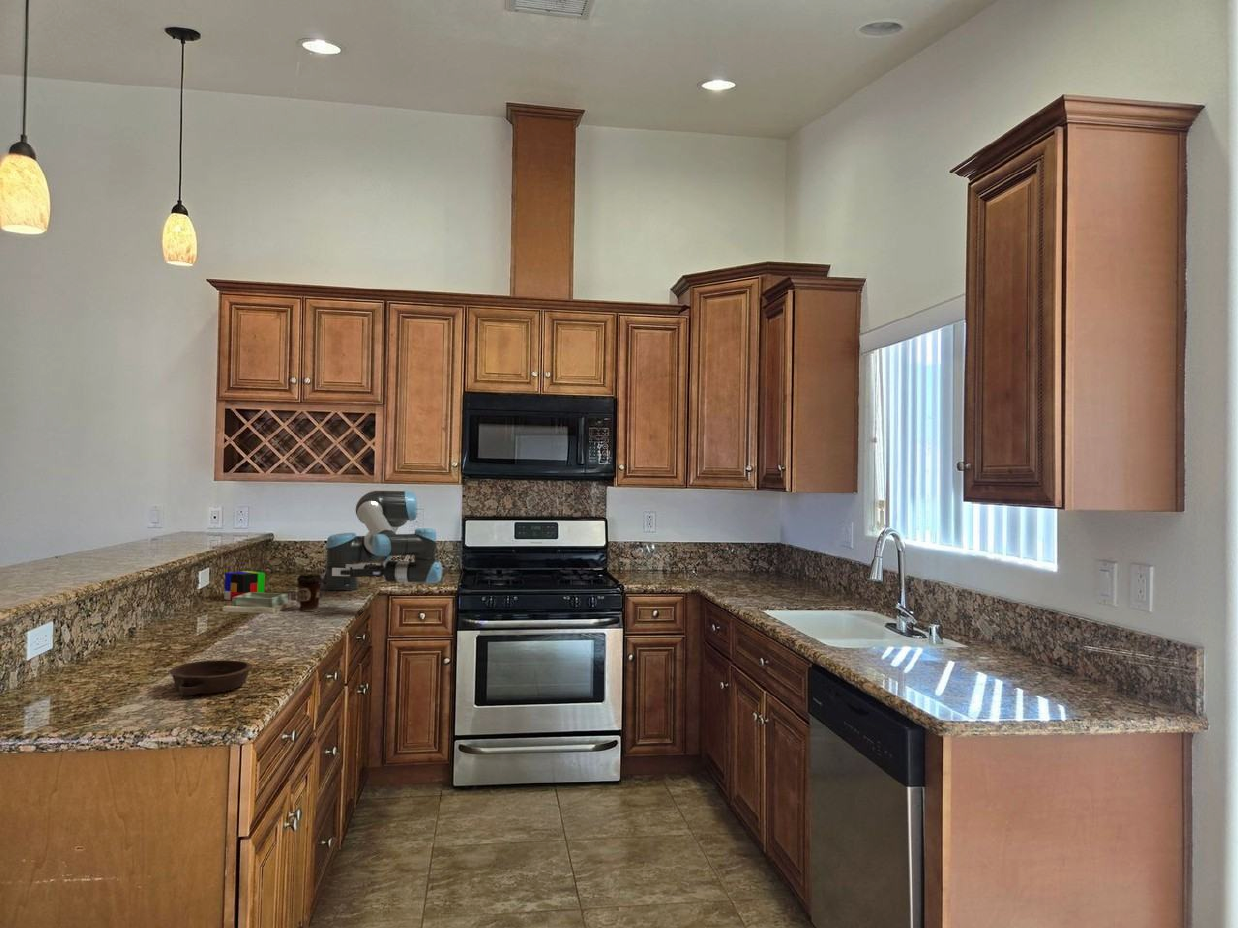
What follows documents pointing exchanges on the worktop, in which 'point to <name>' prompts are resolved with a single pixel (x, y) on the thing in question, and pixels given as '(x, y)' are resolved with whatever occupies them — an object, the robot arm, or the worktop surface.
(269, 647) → the worktop surface
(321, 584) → the robot arm
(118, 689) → the worktop surface
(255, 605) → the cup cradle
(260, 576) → the puzzle toy
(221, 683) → the dish
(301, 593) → the coffee cup
